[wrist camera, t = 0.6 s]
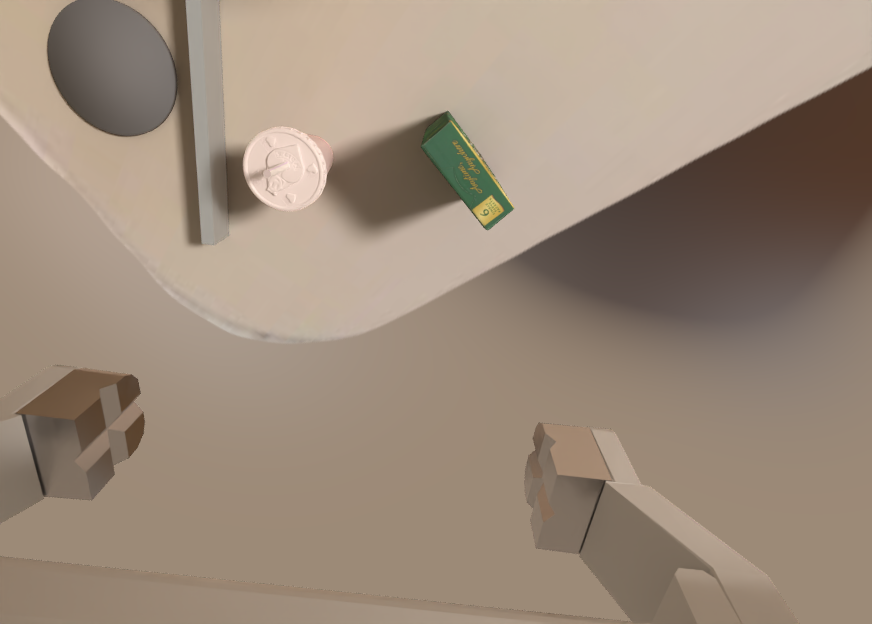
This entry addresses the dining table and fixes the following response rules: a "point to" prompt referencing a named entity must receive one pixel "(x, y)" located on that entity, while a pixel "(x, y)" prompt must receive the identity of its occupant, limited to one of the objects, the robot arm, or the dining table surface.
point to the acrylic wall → (208, 117)
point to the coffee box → (466, 170)
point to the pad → (112, 66)
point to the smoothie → (287, 167)
